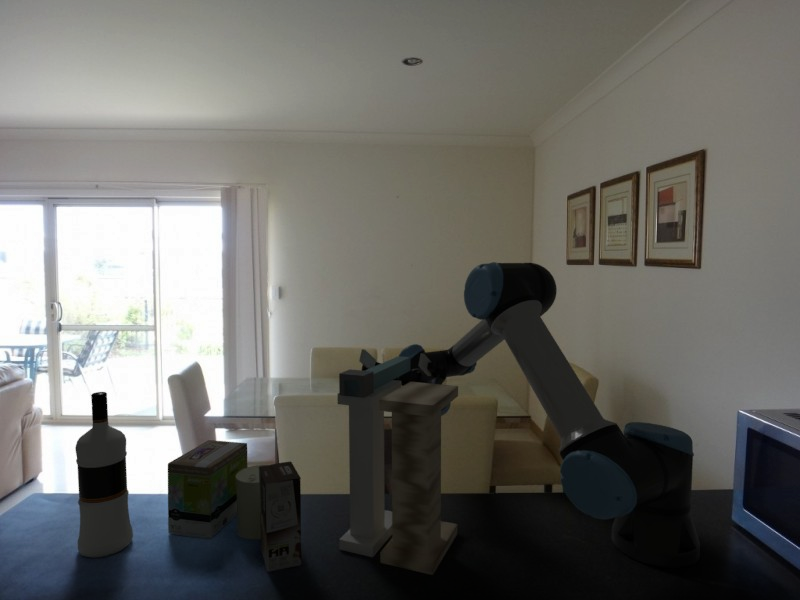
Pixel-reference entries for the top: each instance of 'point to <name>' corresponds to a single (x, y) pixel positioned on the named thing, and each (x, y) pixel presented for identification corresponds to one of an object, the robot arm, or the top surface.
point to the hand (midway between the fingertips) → (390, 357)
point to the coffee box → (280, 515)
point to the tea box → (204, 488)
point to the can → (248, 503)
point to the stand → (367, 473)
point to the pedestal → (417, 477)
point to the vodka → (102, 486)
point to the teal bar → (372, 377)
